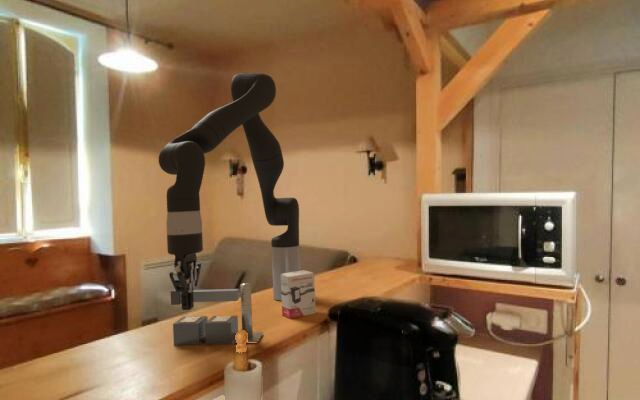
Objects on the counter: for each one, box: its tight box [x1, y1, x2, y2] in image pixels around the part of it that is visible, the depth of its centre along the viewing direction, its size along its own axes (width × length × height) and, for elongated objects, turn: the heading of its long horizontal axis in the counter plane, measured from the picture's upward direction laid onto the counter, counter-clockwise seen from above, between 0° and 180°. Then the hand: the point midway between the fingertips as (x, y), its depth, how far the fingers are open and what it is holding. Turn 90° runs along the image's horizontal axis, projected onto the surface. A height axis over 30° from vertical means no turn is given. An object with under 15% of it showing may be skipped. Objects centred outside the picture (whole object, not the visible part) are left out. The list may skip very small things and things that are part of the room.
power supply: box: [205, 314, 239, 346], centre depth 96 cm, size 6×6×5 cm
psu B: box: [172, 315, 209, 346], centre depth 96 cm, size 6×6×5 cm
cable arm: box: [170, 288, 240, 306], centre depth 96 cm, size 16×3×3 cm, turn 87°
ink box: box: [281, 269, 316, 319], centre depth 115 cm, size 8×5×12 cm, turn 123°
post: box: [231, 282, 264, 345], centre depth 96 cm, size 6×6×13 cm
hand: (187, 308), depth 91 cm, fingers closed
